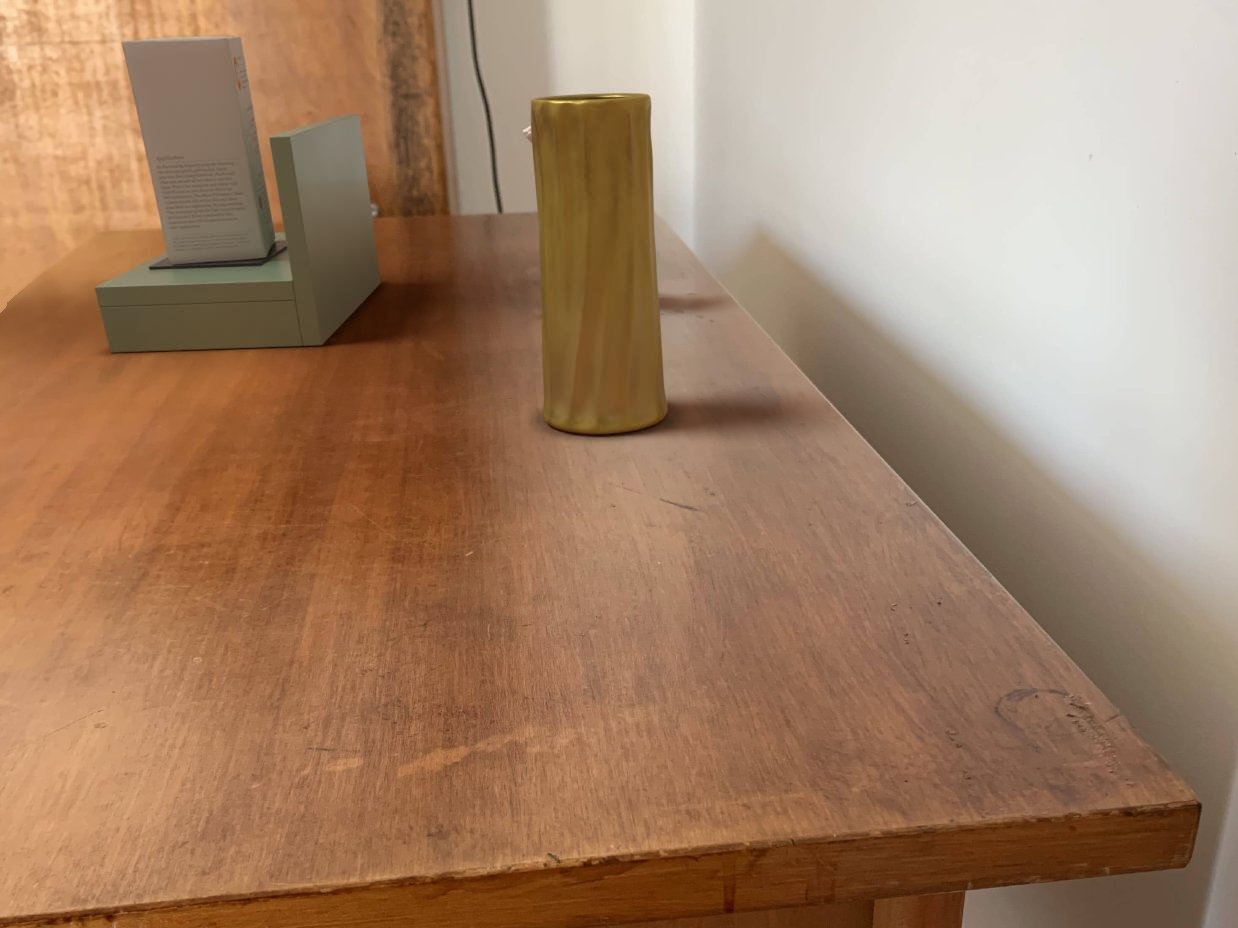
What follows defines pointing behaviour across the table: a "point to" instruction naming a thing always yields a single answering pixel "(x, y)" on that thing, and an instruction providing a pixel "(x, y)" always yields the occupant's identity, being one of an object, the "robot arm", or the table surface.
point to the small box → (201, 147)
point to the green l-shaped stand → (265, 262)
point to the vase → (598, 262)
